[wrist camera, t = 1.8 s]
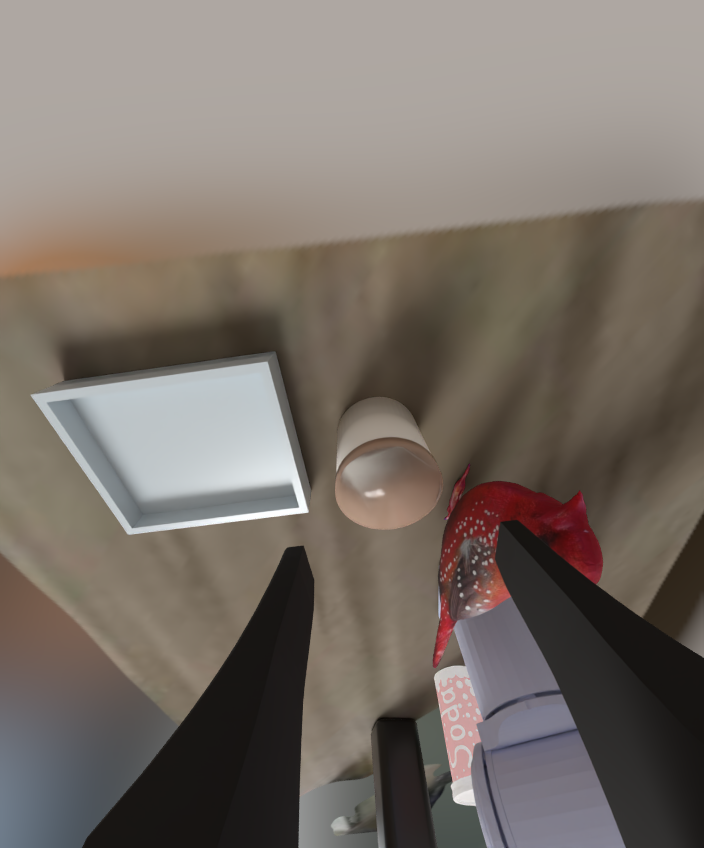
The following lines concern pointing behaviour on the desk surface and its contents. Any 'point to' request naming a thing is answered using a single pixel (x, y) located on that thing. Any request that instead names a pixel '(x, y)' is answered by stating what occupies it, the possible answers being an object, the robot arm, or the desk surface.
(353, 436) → the espresso cup
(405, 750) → the wine bottle
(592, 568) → the decorative bird figurine
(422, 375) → the desk surface
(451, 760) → the beverage cup
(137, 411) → the tray
